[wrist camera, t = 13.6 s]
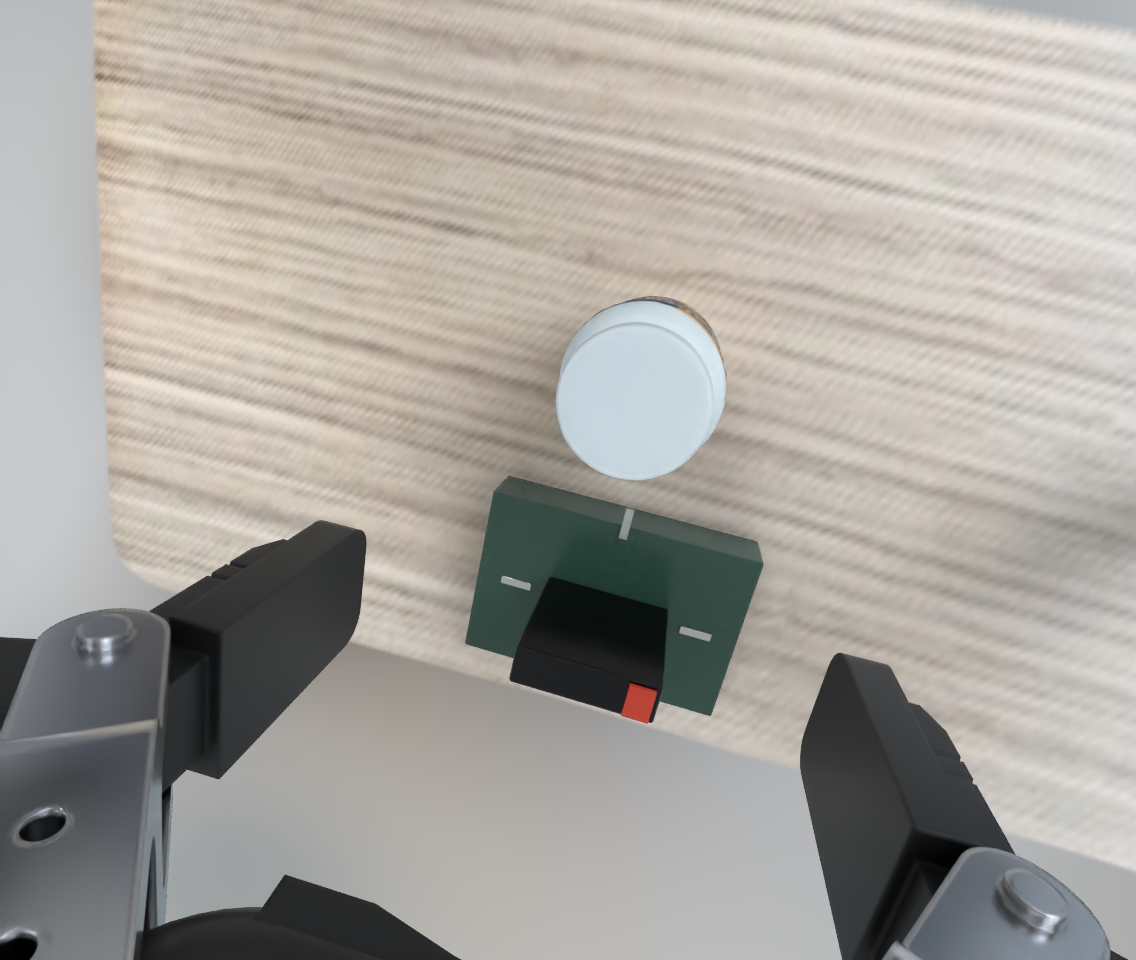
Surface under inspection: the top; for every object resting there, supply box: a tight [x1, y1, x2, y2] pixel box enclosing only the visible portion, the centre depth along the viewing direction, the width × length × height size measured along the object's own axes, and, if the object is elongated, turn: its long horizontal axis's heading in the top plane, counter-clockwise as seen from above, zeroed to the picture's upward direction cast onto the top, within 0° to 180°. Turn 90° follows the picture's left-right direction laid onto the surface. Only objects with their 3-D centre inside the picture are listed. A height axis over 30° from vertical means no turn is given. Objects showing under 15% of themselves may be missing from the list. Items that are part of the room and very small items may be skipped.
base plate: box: [465, 476, 763, 716], centre depth 31 cm, size 12×10×3 cm
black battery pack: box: [510, 577, 668, 723], centre depth 27 cm, size 6×2×6 cm, turn 78°
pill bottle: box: [556, 296, 726, 481], centre depth 24 cm, size 6×6×10 cm
